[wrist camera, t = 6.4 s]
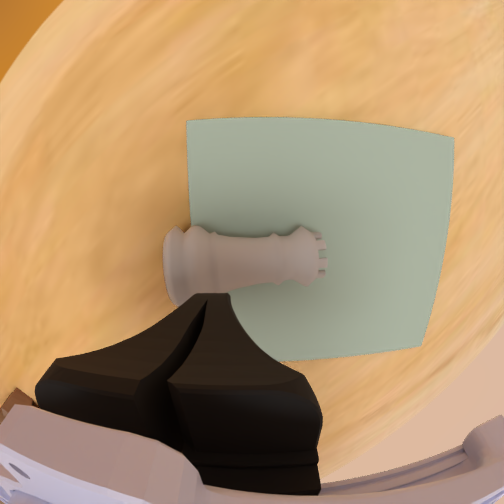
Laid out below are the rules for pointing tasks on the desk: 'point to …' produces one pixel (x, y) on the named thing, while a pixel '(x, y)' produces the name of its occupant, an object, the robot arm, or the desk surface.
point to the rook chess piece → (237, 261)
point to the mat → (329, 226)
